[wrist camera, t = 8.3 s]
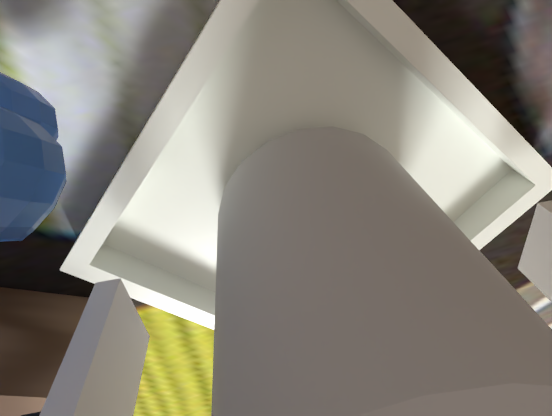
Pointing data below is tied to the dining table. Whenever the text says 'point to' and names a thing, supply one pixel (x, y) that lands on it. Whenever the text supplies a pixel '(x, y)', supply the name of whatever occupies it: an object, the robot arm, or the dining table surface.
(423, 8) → the dining table surface
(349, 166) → the can
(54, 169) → the grapes
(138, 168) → the tray
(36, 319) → the walnut block
